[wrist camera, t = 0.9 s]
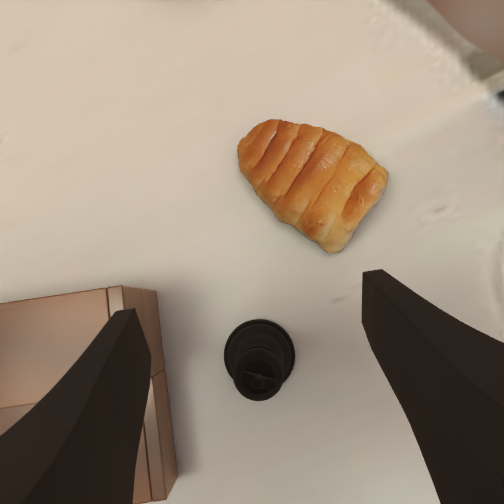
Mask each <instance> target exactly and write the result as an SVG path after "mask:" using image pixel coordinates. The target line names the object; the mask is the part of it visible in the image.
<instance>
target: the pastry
mask: <svg viewBox="0 0 504 504" xmlns="http://www.w3.org/2000/svg"><path fill="white" fill-rule="evenodd" d="M237 151H238V159H239V168H240V171H241V172H242V174H243V175H244V176H245V177H246V178H247V179H248V181H249V182H250V183H251V184H252V186H253V188H254V190H255V192H256V194H257V195H258V196H259V197H260V198H261V199H262V200H263V201H264V202H265V203H266V204H267V205H268V206H269V207H270V208H271V210H272V211H273V212H274V214H275V216H276V217H277V218H278V219H279V220H280V221H281V222H283V223H287V224H290V225H292V226H293V227H295V228H296V229H297V230H299V231H300V232H301V233H302V234H304V235H305V236H306V237H308V238H309V239H311V240H313V241H315V242H316V243H318V244H319V245H320V246H321V247H322V248H323V249H324V250H325V251H326V252H329V253H336V252H339V251H341V250H342V249H343V248H344V247H345V245H346V244H347V243H348V242H349V241H350V239H351V238H352V236H353V233H354V231H355V229H356V227H357V225H358V224H359V223H360V221H361V220H362V218H363V217H364V216H365V215H366V214H367V213H368V211H369V210H370V209H371V208H373V207H374V206H375V205H376V204H377V203H378V201H379V199H380V197H381V196H382V195H383V193H384V191H385V189H386V185H387V183H388V172H387V170H386V169H385V168H383V167H381V166H379V165H378V164H377V163H376V162H375V160H374V159H373V158H372V157H371V156H370V155H369V154H368V153H367V152H366V151H365V149H363V148H362V147H361V146H360V145H358V144H356V143H354V142H351V141H349V140H346V139H345V138H343V137H342V136H340V135H338V134H336V133H334V132H330V131H327V130H325V129H324V128H321V127H313V126H311V125H308V124H294V123H291V122H287V121H282V120H273V119H271V120H268V121H265V122H263V123H260V124H258V125H257V126H256V127H254V128H253V129H252V130H251V131H250V132H249V133H248V134H247V136H246V137H244V138H242V139H241V141H240V142H239V144H238V150H237Z"/></svg>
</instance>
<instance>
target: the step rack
mask: <svg viewBox="0 0 504 504" xmlns="http://www.w3.org/2000/svg"><path fill="white" fill-rule="evenodd" d="M132 308H135V309H136V312H137V315H138V318H139V321H140V324H141V326H142V329H143V332H144V335H145V338H146V341H147V344H148V346H149V349H150V352H151V355H152V356H151V378H150V388H149V394H148V400H147V405H146V411H145V416H144V422H143V427H142V432H141V438H140V443H139V448H138V454H137V461H136V469H135V481H134V493H133V504H140V503H147V502H152V501H153V502H154V501H161V500H166V499H167V498H168V495H169V493H170V491H171V489H172V487H173V485H174V483H175V481H176V479H177V477H178V475H177V467H176V458H175V450H174V441H173V433H172V424H171V416H170V407H169V399H168V390H167V382H166V373H165V365H164V356H163V348H162V339H161V331H160V322H159V314H158V305H157V297H156V291H155V290H149V289H142V288H136V287H129V286H122V285H120V286H114V287H108V288H100V289H94V290H87V291H80V292H74V293H67V294H61V295H54V296H47V297H41V298H34V299H27V300H21V301H14V302H8V303H1V304H0V436H1V435H2V434H3V433H4V432H6V431H7V430H8V429H9V428H10V427H11V426H13V425H14V424H15V423H16V422H17V421H18V420H20V419H21V418H22V417H23V416H24V415H25V414H26V413H27V412H29V411H30V410H31V409H32V408H33V407H34V406H35V405H36V404H37V403H38V402H39V401H40V400H41V399H42V398H43V397H44V396H45V395H46V394H47V393H48V392H49V391H50V390H51V389H52V388H53V387H54V386H55V385H56V384H57V382H58V381H59V380H60V379H61V378H62V377H63V376H64V375H65V373H66V372H67V371H68V370H69V369H70V368H71V367H72V365H73V364H74V363H75V362H76V361H77V360H78V358H79V357H80V356H81V355H82V353H83V352H84V351H85V350H86V348H87V347H88V346H89V345H90V343H91V342H92V341H93V340H94V338H95V337H96V336H97V334H98V333H99V332H100V330H101V329H102V328H103V327H104V325H105V324H106V323H107V321H108V320H109V319H110V318H111V316H112V315H113V314H114V313H115V311H119V310H125V309H132Z"/></svg>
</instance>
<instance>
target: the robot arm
mask: <svg viewBox="0 0 504 504" xmlns="http://www.w3.org/2000/svg"><path fill="white" fill-rule="evenodd" d="M362 324H363V327H364V330H365V333H366V335H367V338H368V341H369V343H370V346H371V349H372V351H373V353H374V355H375V357H376V359H377V361H378V362H379V364H380V366H381V368H382V370H383V372H384V374H385V376H386V378H387V380H388V381H389V383H390V385H391V387H392V389H393V391H394V393H395V395H396V397H397V399H398V400H399V402H400V404H401V406H402V408H403V410H404V412H405V414H406V416H407V418H408V420H409V423H410V425H411V427H412V430H413V432H414V435H415V437H416V440H417V442H418V445H419V447H420V450H421V452H422V455H423V457H424V460H425V463H426V465H427V468H428V470H429V473H430V476H431V478H432V481H433V484H434V486H435V489H436V492H437V495H438V497H439V500H440V503H441V504H504V343H503V342H501V341H498V340H496V339H494V338H492V337H490V336H488V335H486V334H484V333H482V332H480V331H478V330H476V329H474V328H472V327H470V326H468V325H466V324H465V323H463V322H461V321H459V320H458V319H456V318H454V317H452V316H451V315H449V314H447V313H446V312H444V311H442V310H441V309H439V308H438V307H436V306H434V305H433V304H431V303H430V302H428V301H427V300H425V299H424V298H422V297H421V296H419V295H418V294H416V293H415V292H413V291H412V290H411V289H409V288H408V287H406V286H405V285H404V284H402V283H401V282H399V281H398V280H397V279H395V278H394V277H392V276H391V275H390V274H388V273H387V272H385V271H384V270H382V269H380V270H373V271H367V272H363V280H362ZM151 356H152V355H151V352H150V349H149V346H148V344H147V341H146V338H145V335H144V332H143V329H142V326H141V324H140V321H139V318H138V315H137V312H136V309H135V308H132V309H125V310H119V311H115V313H114V314H113V315H112V316H111V318H110V319H109V320H108V321H107V323H106V324H105V325H104V327H103V328H102V329H101V330H100V332H99V333H98V334H97V336H96V337H95V338H94V340H93V341H92V342H91V343H90V345H89V346H88V347H87V348H86V350H85V351H84V352H83V353H82V355H81V356H80V357H79V358H78V360H77V361H76V362H75V363H74V364H73V365H72V367H71V368H70V369H69V370H68V371H67V372H66V373H65V375H64V376H63V377H62V378H61V379H60V380H59V381H58V382H57V384H56V385H55V386H54V387H53V388H52V389H51V390H50V391H49V392H48V393H47V394H46V395H45V396H44V397H43V398H42V399H41V400H40V401H39V402H38V403H37V404H36V405H35V406H34V407H33V408H32V409H31V410H30V411H29V412H27V413H26V414H25V415H24V416H23V417H22V418H21V419H20V420H18V421H17V422H16V423H15V424H14V425H13V426H11V427H10V428H9V429H8V430H7V431H6V432H4V433H3V434H2V435H1V436H0V504H133V493H134V481H135V469H136V461H137V454H138V448H139V443H140V438H141V432H142V427H143V422H144V416H145V411H146V405H147V400H148V394H149V388H150V378H151Z"/></svg>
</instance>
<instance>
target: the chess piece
mask: <svg viewBox="0 0 504 504" xmlns="http://www.w3.org/2000/svg"><path fill="white" fill-rule="evenodd" d="M224 361H225V366H226V369H227V371H228V373H229V375H230V376H231V378H232V379H233V380H234V384H235V386H236V388H237V390H238V391H239V392H240V393H241V394H242V395H243V396H244V397H246V398H248V399H250V400H254V401H264V400H267V399H270V398H271V397H273V396H274V395H275V394H276V393H277V392H278V391H279V390H280V388H281V386H282V383H283V382H285V380H286V379H287V378H288V377H289V375H290V373H291V371H292V369H293V366H294V361H295V350H294V346H293V343H292V340H291V338H290V337H289V335H288V334H287V332H286V331H285V330H284V329H283V328H282V327H280V326H279V325H277V324H276V323H274V322H271V321H268V320H262V319H257V320H251V321H248V322H245V323H243V324H241V325H240V326H238V327H237V328H236V329H235V330H234V331H233V332H232V333H231V335H230V336H229V338H228V340H227V343H226V345H225V350H224Z"/></svg>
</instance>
